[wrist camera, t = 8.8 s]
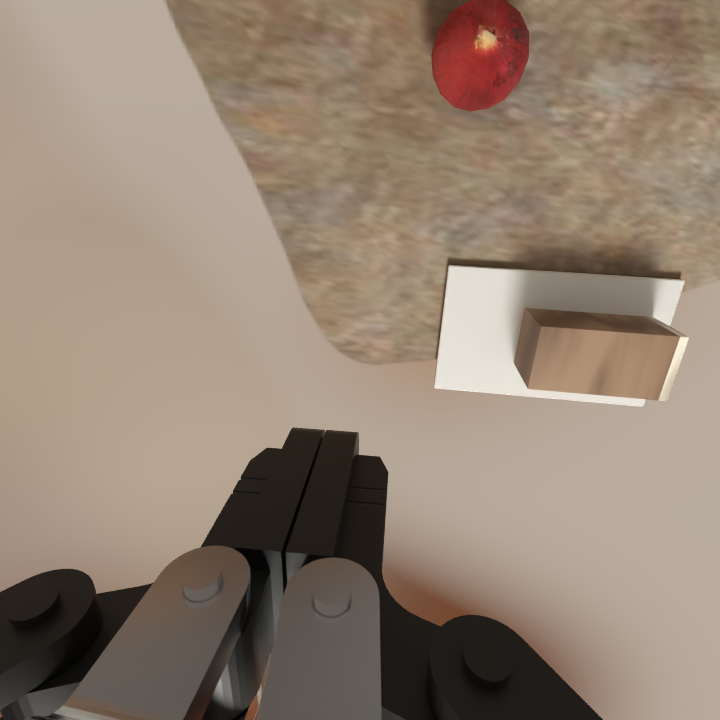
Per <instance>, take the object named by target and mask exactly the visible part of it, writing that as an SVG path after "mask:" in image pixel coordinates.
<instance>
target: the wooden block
mask: <svg viewBox="0 0 720 720" xmlns="http://www.w3.org/2000/svg"><path fill="white" fill-rule="evenodd" d="M688 340H689V337H688V336H686V335H684V334H682V333H681V332H679V331H677V330H675V329H673V328H672V327H670V326H668V325H666V324H665V323H663V322H661V321H659V320H657V319H656V318H654V317H647V316H632V315H618V314H604V313H590V312H576V311H562V310H548V309H534V308H525V310H524V315H523V320H522V325H521V330H520V335H519V340H518V345H517V351H516V356H515V361H514V365H515V367H516V368H517V370H518V372H519V374H520V376H521V378H522V379H523V381H524V383H525V385H526V387H527V388H528V389H533V390H545V391H556V392H567V393H579V394H590V395H602V396H613V397H625V398H636V399H648V400H659V401H667V399H668V396H669V394H670V391H671V388H672V385H673V382H674V380H675V377H676V374H677V371H678V368H679V365H680V363H681V360H682V357H683V354H684V351H685V348H686V346H687V343H688Z"/></svg>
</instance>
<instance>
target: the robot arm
mask: <svg viewBox="0 0 720 720" xmlns="http://www.w3.org/2000/svg"><path fill="white" fill-rule="evenodd" d="M387 484H388V471H387V469H386V467H385V465H384V464H383V462H382V460H381V458H380V457H377V456H365V455H359V433H357V432H344V431H333V430H326V432H325V430H318V429H304V428H292V429H291V431H290V433H289V435H288V437H287V439H286V441H285V443H284V445H283V448H282V449H277V448H266V449H265V450H264V451H262V452H261V453H259V454H258V455H257V456H256V457H254V458H253V459H252V460H250V462H249V464H248V465H247V467H246V469H245V471H244V472H243V474H242V476H241V480H239V481H238V483H237V485H236V486H235V488H234V490H233V494H231V495H230V497H229V499H228V500H227V502H226V504H225V506H224V507H223V509H222V511H221V513H220V514H219V516H218V518H217V520H216V522H215V523H214V525H213V527H212V528H211V530H210V532H209V534H208V535H207V537H206V539H205V541H204V543H203V544H202V546H201V548H198V549H194V550H192V551H189V552H187V553H185V554H183V555H181V556H179V557H178V558H176V559H175V560H173V561H172V562H171V563H170V564H169V565H168V566H167V567H165V569H164V570H163V571H162V572H161V573H160V575H159V576H158V578H157V579H156V580H155V582H154V583H151V584H148V585H143V586H139V587H133V588H127V589H122V590H117V591H111V592H105V593H99V594H96V590H95V587H94V584H93V581H92V579H91V578H90V577H89V576H88V575H87V574H85V573H84V572H82V571H79V570H74V569H59V570H53V571H48V572H44V573H41V574H38V575H35V576H33V577H31V578H28V579H26V580H24V581H22V582H20V583H18V584H16V585H14V586H12V587H10V588H8V589H6V590H4V591H2V592H0V712H1V715H2V717H1V718H0V720H254V718H255V715H256V713H257V710H258V707H259V703H260V700H261V704H260V708H259V712H258V717H257V720H603V719H602V718H601V717H599V715H598V714H597V713H596V712H595V711H594V710H593V709H592V708H591V707H590V706H589V705H587V703H586V702H585V701H584V700H583V699H582V698H581V697H580V696H579V695H578V694H577V693H576V692H575V691H574V690H573V689H572V688H571V687H570V686H569V685H568V684H567V683H566V682H565V681H564V680H563V679H562V678H561V677H560V676H559V675H558V674H557V673H556V672H555V671H554V670H553V669H552V668H551V667H550V666H549V665H548V664H547V663H546V662H545V661H544V660H543V659H542V658H541V657H540V656H539V655H538V654H537V653H536V652H535V651H534V650H533V649H532V648H531V647H530V646H529V645H528V644H527V643H526V642H525V641H524V640H523V639H522V638H521V637H520V636H519V635H518V634H517V633H516V632H515V631H513V630H512V629H510V628H509V627H507V626H506V625H504V624H502V623H500V622H498V621H496V620H494V619H491V618H488V617H484V616H478V615H466V616H460V617H456V618H453V619H451V620H449V621H447V622H446V623H445V624H444V625H442V626H441V627H440V626H438V625H436V624H433V623H431V622H429V621H427V620H424V619H422V618H420V617H418V616H416V615H414V614H412V613H410V612H409V611H407V610H406V609H404V608H403V607H402V606H401V605H399V604H398V603H397V602H396V601H395V599H394V598H393V597H392V596H391V595H390V593H389V591H388V590H387V588H386V586H385V583H384V581H383V576H382V563H383V548H384V533H385V516H386V501H387V500H386V499H387ZM270 653H271V657H270V661H269V666H268V671H267V676H266V680H265V685H264V689H263V694H262V699H261V682H262V679H263V676H264V672H265V669H266V665H267V662H268V658H269V655H270Z"/></svg>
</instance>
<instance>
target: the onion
mask: <svg viewBox="0 0 720 720" xmlns="http://www.w3.org/2000/svg"><path fill="white" fill-rule="evenodd" d="M528 58H529V31H528V29H527V27H526V25H525V22H524V20H523V18H522V16H521V14H520V12H519V11H518V10H517V9H515V8H514V7H513V6H512V5H511V4H509V3H508V2H507V1H506V0H470V1H467V2H466V3H464V4H463V5H461V6H460V7H458V8H457V9H455V10H454V11H452V12H451V13H450V14H449V16H448V17H447V19H446V20H445V22H444V24H443V25H442V27H441V28H440V30H439V31H438V33H437V35H436V39H435V43H434V47H433V51H432V69H433V77H434V79H435V82H436V84H437V87H438V89H439V92H440V94H441V95H442V96H443V97H444V98H445V99H446V100H447V101H448V102H449V103H450V104H451V105H452V106H453V107H456V108H460V109H464V110H468V111H476V110H481V109H487V108H490V107H491V106H493V105H495V104H497V103H499V102H501V101H503V100H504V99H505V98H506V97H507V96H508V95H509V94H510V92H511V91H512V90H513V89H514V88H515V87H516V85H517V84H518V83H519V81H520V78H521V76H522V73H523V71H524V68H525V66H526V63H527V61H528Z"/></svg>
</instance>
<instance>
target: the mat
mask: <svg viewBox="0 0 720 720" xmlns="http://www.w3.org/2000/svg"><path fill="white" fill-rule="evenodd" d="M684 282H685V281H684V280H681V279H666V278H650V277H634V276H618V275H603V274H587V273H571V272H555V271H539V270H523V269H507V268H491V267H476V266H460V265H448V274H447V282H446V290H445V299H444V307H443V315H442V324H441V332H440V340H439V349H438V357H437V365H436V374H435V382H434V388H438V389H449V390H461V391H472V392H483V393H494V394H506V395H517V396H529V397H540V398H551V399H563V400H573V401H586V402H597V403H608V404H619V405H631V406H641V407H643V406H644V402H645V400H646V399H636V398H625V397H613V396H602V395H590V394H579V393H567V392H556V391H545V390H533V389H528V388H527V387H526V385H525V383H524V381H523V379H522V378H521V376H520V374H519V372H518V370H517V368H516V367H515V365H514V361H515V356H516V351H517V345H518V340H519V335H520V330H521V325H522V320H523V315H524V310H525V308H534V309H548V310H562V311H576V312H590V313H604V314H618V315H632V316H647V317H654V318H656V319H657V320H659V321H661V322H663V323H665V324H666V325H668V326H670V324H671V321H672V318H673V315H674V312H675V309H676V306H677V303H678V300H679V297H680V294H681V291H682V288H683V285H684Z"/></svg>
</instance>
